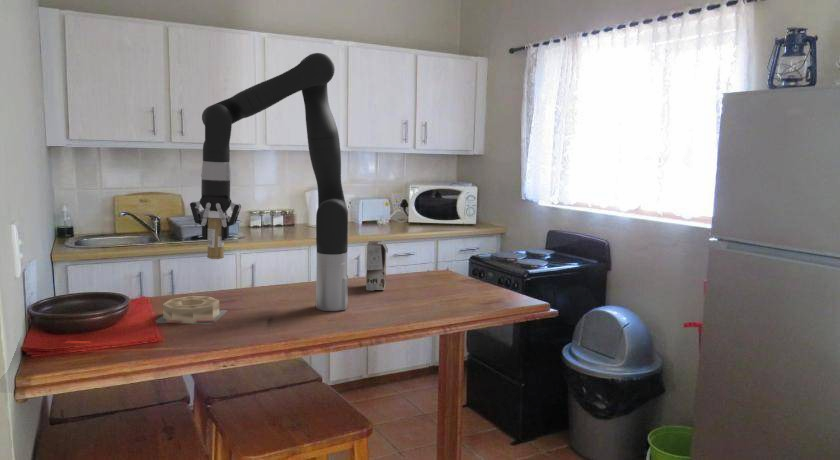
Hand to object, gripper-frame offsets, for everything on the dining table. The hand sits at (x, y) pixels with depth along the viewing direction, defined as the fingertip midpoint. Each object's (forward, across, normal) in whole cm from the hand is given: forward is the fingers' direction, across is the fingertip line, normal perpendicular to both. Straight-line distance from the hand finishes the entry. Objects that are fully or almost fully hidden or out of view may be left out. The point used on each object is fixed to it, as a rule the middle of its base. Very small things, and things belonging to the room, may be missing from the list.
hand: (215, 239), depth 167 cm
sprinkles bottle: (+5, 0, 0) cm, 5 cm away
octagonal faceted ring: (+22, +5, +2) cm, 22 cm away
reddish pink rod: (+22, +3, +8) cm, 24 cm away
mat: (+22, +5, +2) cm, 23 cm away
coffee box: (+21, -43, -41) cm, 63 cm away
